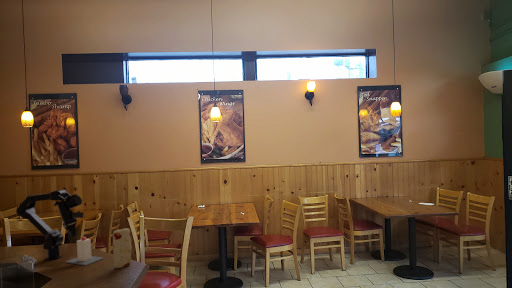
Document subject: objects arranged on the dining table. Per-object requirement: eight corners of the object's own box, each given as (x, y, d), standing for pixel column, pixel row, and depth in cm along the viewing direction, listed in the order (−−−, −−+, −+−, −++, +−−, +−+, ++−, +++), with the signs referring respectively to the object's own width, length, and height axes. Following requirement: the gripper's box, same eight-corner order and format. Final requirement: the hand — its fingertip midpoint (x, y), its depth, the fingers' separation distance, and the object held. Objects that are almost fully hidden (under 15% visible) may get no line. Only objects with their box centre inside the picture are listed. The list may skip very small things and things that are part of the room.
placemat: (65, 262, 206) (65, 261, 206) (84, 256, 217) (84, 254, 217) (85, 265, 199) (85, 264, 199) (103, 258, 210) (103, 257, 210)
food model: (117, 270, 189) (115, 231, 189) (111, 268, 194) (109, 229, 193) (134, 265, 197) (133, 227, 196) (128, 262, 201) (126, 226, 201)
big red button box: (77, 260, 207) (76, 238, 207) (84, 257, 211) (83, 236, 211) (84, 261, 205) (83, 238, 205) (91, 258, 210) (90, 236, 210)
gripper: (81, 204, 210) (90, 230, 210) (78, 206, 226) (87, 231, 225) (60, 211, 204) (69, 238, 204) (58, 213, 220) (67, 238, 219)
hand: (74, 236), depth 213 cm, fingers open, 9 cm apart
